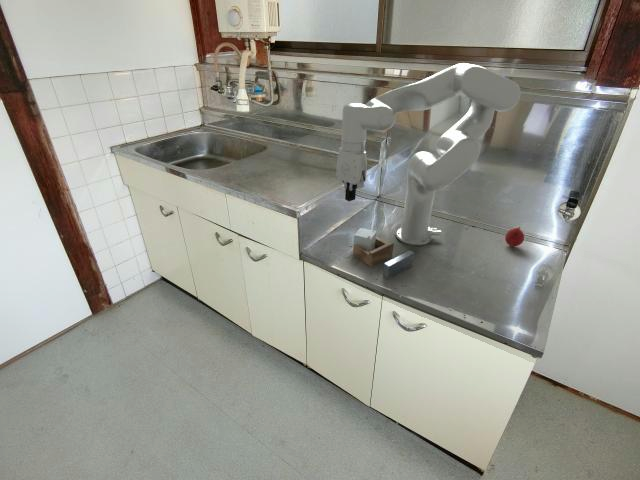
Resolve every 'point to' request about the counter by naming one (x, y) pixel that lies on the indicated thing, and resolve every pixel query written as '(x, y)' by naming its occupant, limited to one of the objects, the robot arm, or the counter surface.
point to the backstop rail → (398, 264)
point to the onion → (514, 237)
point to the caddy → (374, 252)
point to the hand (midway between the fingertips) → (350, 199)
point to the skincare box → (365, 239)
